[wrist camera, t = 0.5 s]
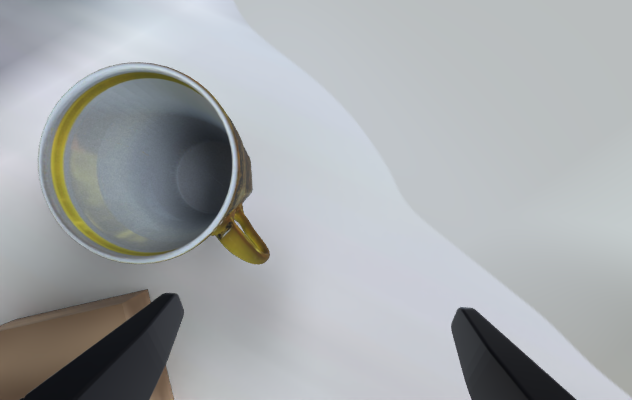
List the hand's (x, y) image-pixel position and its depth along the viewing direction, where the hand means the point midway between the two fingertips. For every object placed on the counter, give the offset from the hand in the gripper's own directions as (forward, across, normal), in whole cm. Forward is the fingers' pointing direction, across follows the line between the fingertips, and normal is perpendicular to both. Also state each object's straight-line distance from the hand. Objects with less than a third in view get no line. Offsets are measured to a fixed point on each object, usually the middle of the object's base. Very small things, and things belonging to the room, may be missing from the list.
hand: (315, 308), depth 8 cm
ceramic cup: (+14, +8, +3) cm, 17 cm away
